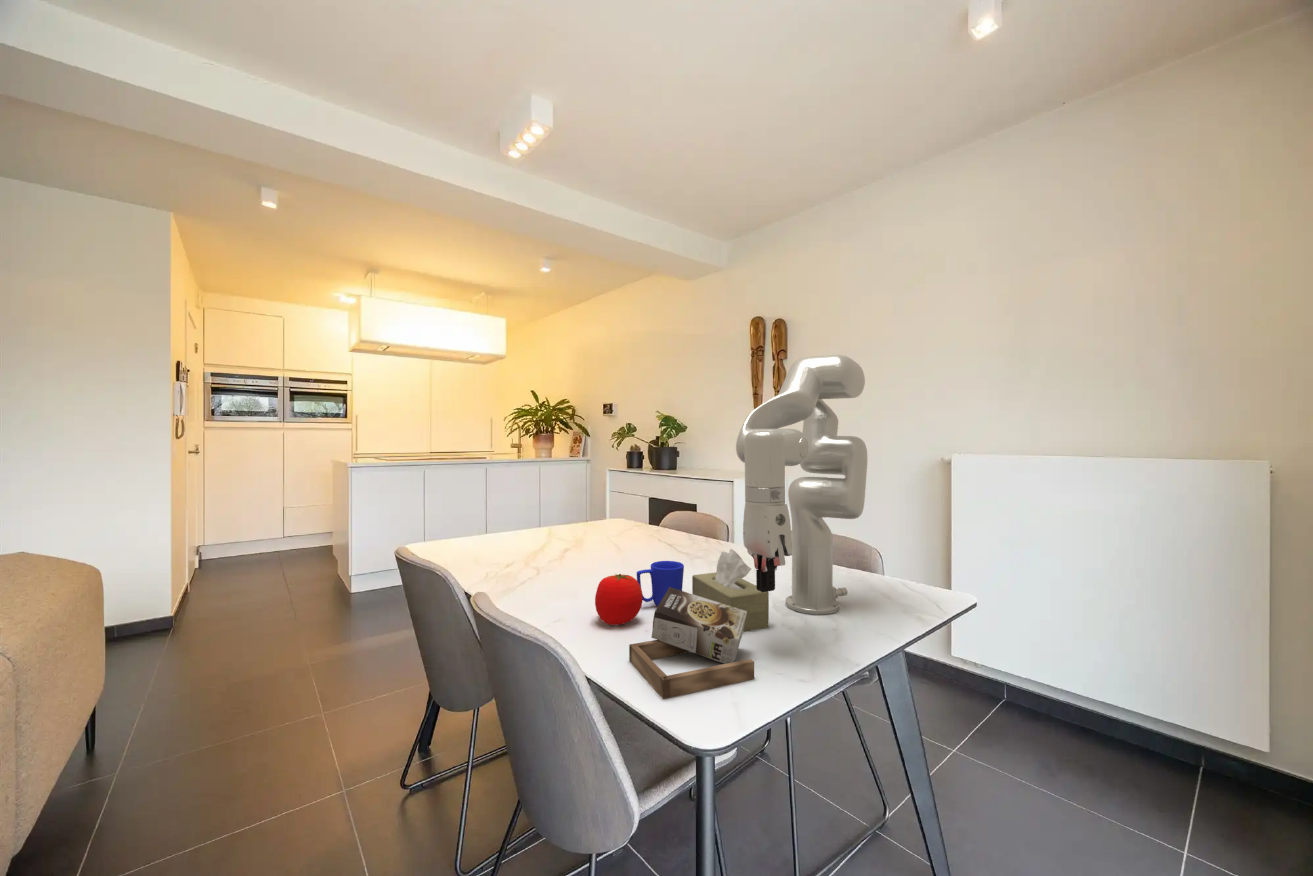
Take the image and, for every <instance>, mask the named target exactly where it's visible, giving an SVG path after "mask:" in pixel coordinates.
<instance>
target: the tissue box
mask: <svg viewBox="0 0 1313 876" xmlns="http://www.w3.org/2000/svg"><path fill="white" fill-rule="evenodd" d="M720 553H721V554H720V555H719V557H718V560H717V564H716V572H708V573H699V574H693V575H692V578H691V579H692V582H691V583H692V585H691V586H692V589H691V590H692V591H691V592H692V593H691V594H693V595H696V596H700V597H703V598H706V599H709V600H712V601H715V602H719V603H722V604H725V605H728V606H731V607H735V608H738V609H741V610H744V611H747V616H746V620H745V625H744V629H743V633H744V632H749V631H750V632H751V631H755V630H762V629H767V628H769V626H770V625H769V624H770V623H769V614H770V613H769V603H770V601H769V600H770V599H769V597H770V595H769V592H770V591H768V592H761V591H759V590H757V588H756V584H754V583H752V582H751V581H748V580H746V579H743V578H745V577H746V576H747V575H748V574H750V572H751V570H752V568H751V567H750V566H749V565H747V564H746V563H745V561H744V560H743V558H742V557H741V556H740V555H739V553H738V552H736V551H735V550H734V549H732V548H730V549H729V552H727V551H722V552H720Z"/></svg>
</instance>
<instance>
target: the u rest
mask: <svg viewBox="0 0 1313 876" xmlns="http://www.w3.org/2000/svg"><path fill="white" fill-rule="evenodd" d="M628 645H629V646H628V647H629V649H628V650H629V652H628V655H629V656H628V659H629V662H630V664H632V666H634V668H635V669H636V670H637V671H638V672H639V673H640V675H641V676H642V677H643V678H644V679H645V680H646V682H647V683H648V684H649V685H650V686H651V687H652V688H653V689H654V690H655V692H656V693H657V694H658V695H659V696H660V697H661V699H662V700H666V699H671V698H674V697H678V696H679V697H680V696H684V695H687V694H692V693H696V692H701V691H702V692H703V691H706V690H711V689H714V688H715V689H716V688H721V687H725V686H728V685H733V684H738V683H742V682H746V681H747V682H748V681H751V680H754V679H755V660H753V659H751V658H748V659H743V660H738V661H734V662H732V663H727V664H724V663H721V664H717V665H713V666H708V667H703V668H699V669H694V670H689V671H684V672H679V673H673V674H668V675H667V674H666V673H665V672H664V671H663V670H662V669H661V668H660V667H659V666H658V665H657V664H656V663H655V662H654V661H653V660H655V659H661V658H667V657H672V656H676V655H683V654H688V653H691V652H690V651H687V650H685V649H682V648H679V647H676V646H673V645H671V644H668V643H665V642H662V641H659V640H657V639H653V640H648V641H642V642H636V643H630V644H628Z"/></svg>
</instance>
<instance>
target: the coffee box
mask: <svg viewBox="0 0 1313 876" xmlns="http://www.w3.org/2000/svg"><path fill="white" fill-rule="evenodd" d="M746 616H747V611H744V610H741V609H738V608H735V607H731V606H728V605H725V604H722V603H719V602H715V601H712V600H709V599H706V598H703V597H700V596H696V595H693V594H692V593H689V592H686V591H684V590H682V591H681V590H677V589H674V588H671V587H669V588H668V590H667V592H666V593H665V595H664V597H663V598H662V600H661V602H660V603H659V605H658V606H656V608H655V610H654V614H653V620H652V631H651V637H650V638H651V639H653V640H659V641H662V642H665V643H668V644H671V645H673V646H676V647H679V648H682V649H685V650H687V651H690V652H689V653H694V654H696V655H699V656H702V657H705V658H707V659H710V660H714V661H716V662H718V663H721V664H727V663H732V662H736V661H735V660H736V658H737V654H738V650H739V647H740V643H741V639H742V637H743V633H744V632H743V629H744V625H745V620H746Z"/></svg>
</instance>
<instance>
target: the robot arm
mask: <svg viewBox="0 0 1313 876" xmlns="http://www.w3.org/2000/svg"><path fill="white" fill-rule="evenodd" d="M865 380H866V379H865V373H864V370H863V368H862V367H861V365H860V364H859V363H857V362H856V361H855V360H854V359H852V358H850V357H849V356H847V355H841V354H831V355H818V356H807V357H801V358H798V359H796V360H795V361H794V362H793V363H792V364H791V365H790V367H789V368H788V371H787V374H786V376H785V378H784V380H783V383H782V384H781V388H780V389H779V392H778V394H777V395H775V396H773V397H771V398H770V399H767V400H766V401H764V403H762V404H760V405H759V406H757V407H756V408H754V409H753V410H752V411H751V412H750V413H749V414H748V415H747V416H746V418H745V420H744V422H743V423H742V425H741V428H740V430H739V432H738V435H737V438H736V444H735V452H736V455H737V457H738V459H739V460H740V462H742V463H743V464H744V508H743V509H744V511H743V520H742V521H743V522H742V539H743V546H744V548H746V551H747V554H748V555H750V556H751V557H752V559H753V563H754V569H755V570H756V571H755V573H756V575H755V577H756V580H755V581H756V584H755V585H756V588H757V590H759V591H761V592H772V591H773V592H774V591H775V590H776V571H777V570H778V567H780V566H785V565H786V558H785V557H790V556H791V595H789V596H787V597H786V598H785V605H786V607H787V608H789V609H790V610H793V611H795V612H799V613H804V614H810V615H829V614H834V613H836V612H838V611H839V610H840V602H838V601H837V599H838V597H844V596H847V595H848V589H847V587H838V588H836V587H835V586H834V585H833V584H834V583H833V582H834V581H833V577H834V576H833V575H834V573H833V572H834V571H833V569H834V567H833V566H834V563H833V562H834V560H833V559H834V558H833V557H834V556H833V553H834V552H833V548H834V547H833V543H834V540H833V539H834V538H833V534H832V530H831V528H830V527H829V525H828V524H827V522H826V521H825V520H824V519H823V518H828V519H829V518H831V519H832V518H833V519H845V520H854V519H855V520H856V519H859V517H861V516H862V514H863V512H864V509H865V508H864V507H865V500H866V499H865V498H866V489H867V488H866V484H867V473H868V448H867V445H866V443H865V441H864V440H863V439H862V438H861V437H858V436H853V435H852V436H851V435H838V432H839V431H838V429H839V418H838V416H837V415H836V413H835V412H834V410H833V409H832V408H831V407H830V406H829V405H828V404H827V403H826V402H825V401H824V400H831V399H833V400H835V399H837V400H839V399H854V398H855V399H856V398H859V396H861V395H862V393H863V391H864V390H865V389H864V388H865V385H866V384H865V382H866V381H865ZM802 421H803V425H802V431H801V430H797V429H795V428H784V427H788V426H792V425H795V424H797V423H800V422H802ZM798 465H799V466H800V468H801V469H802V470H803V471H805V472H806V473H809V474H819V475H820V474H821V475H841V476H844V477H843V478H842V477H841V478H840V477H839V478H838V477H825V476H823V477H822V476H802V477H798V478H795V479H794V480H793V481H792V482H790V484H789V486H788V491H787V492H788V493H787V495H788V496H787V497H788V503H789V508H788V503H787V504H786V467H795V466H798ZM789 509H790V512H789ZM790 515H791V516H790ZM790 517H791V519H790Z"/></svg>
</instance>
